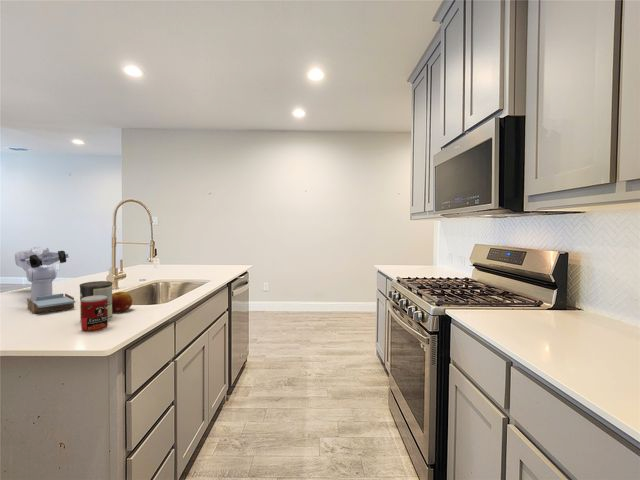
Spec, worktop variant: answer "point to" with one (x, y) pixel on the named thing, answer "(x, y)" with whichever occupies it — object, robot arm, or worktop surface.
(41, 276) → the robot arm
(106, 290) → the coffee can
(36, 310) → the box
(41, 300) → the lid
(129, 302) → the fruit
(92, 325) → the canned food
